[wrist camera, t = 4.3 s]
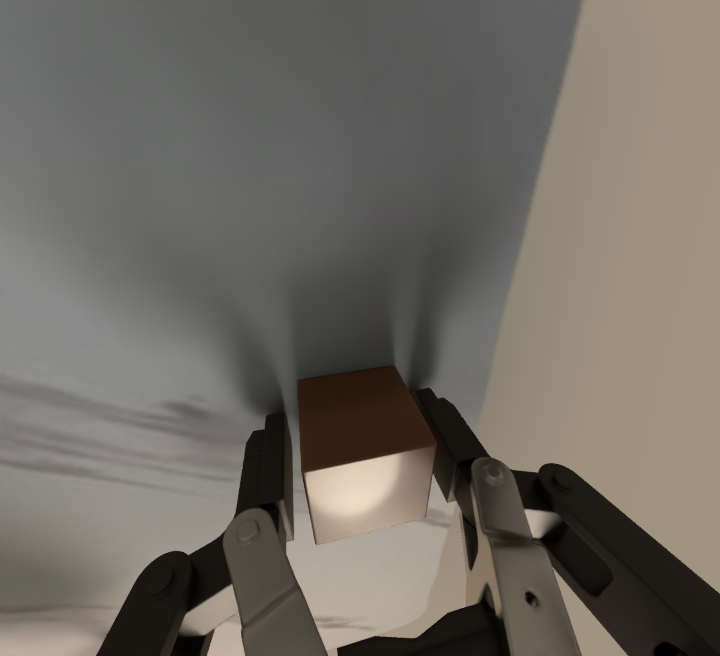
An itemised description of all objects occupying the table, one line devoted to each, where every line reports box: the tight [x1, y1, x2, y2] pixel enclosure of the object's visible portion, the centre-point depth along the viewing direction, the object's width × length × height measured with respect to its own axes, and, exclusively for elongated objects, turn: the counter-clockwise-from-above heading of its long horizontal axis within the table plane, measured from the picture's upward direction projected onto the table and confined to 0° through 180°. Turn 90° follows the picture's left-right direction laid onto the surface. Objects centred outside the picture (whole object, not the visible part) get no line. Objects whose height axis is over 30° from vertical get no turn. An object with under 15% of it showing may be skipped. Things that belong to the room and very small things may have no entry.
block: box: [297, 366, 437, 545], centre depth 11 cm, size 4×4×4 cm
